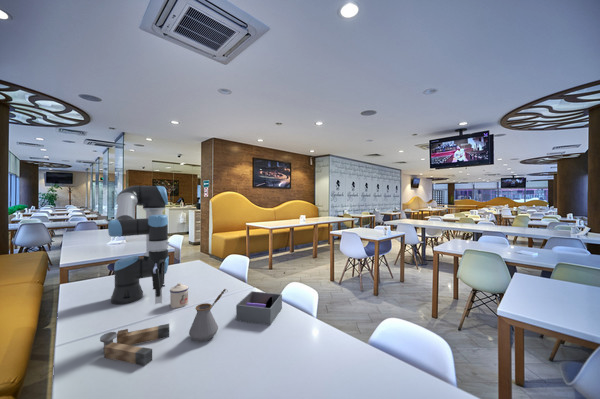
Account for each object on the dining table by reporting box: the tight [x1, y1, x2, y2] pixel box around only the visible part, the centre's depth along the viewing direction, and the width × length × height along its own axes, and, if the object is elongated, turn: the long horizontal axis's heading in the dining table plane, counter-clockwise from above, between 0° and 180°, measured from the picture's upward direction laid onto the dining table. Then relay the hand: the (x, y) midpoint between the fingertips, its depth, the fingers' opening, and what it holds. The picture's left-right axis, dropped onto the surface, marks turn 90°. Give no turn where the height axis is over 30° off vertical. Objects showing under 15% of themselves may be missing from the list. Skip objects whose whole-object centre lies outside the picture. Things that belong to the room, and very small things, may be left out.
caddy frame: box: [235, 290, 283, 326], centre depth 125 cm, size 17×17×8 cm
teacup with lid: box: [169, 282, 189, 309], centre depth 137 cm, size 12×9×12 cm
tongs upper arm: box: [99, 323, 170, 346], centre depth 100 cm, size 23×6×6 cm, turn 116°
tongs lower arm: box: [103, 339, 153, 367], centre depth 92 cm, size 22×5×4 cm, turn 76°
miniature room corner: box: [246, 297, 272, 308], centre depth 127 cm, size 12×12×7 cm
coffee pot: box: [188, 288, 228, 343], centre depth 110 cm, size 21×12×15 cm, turn 161°
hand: (159, 302), depth 111 cm, fingers closed
